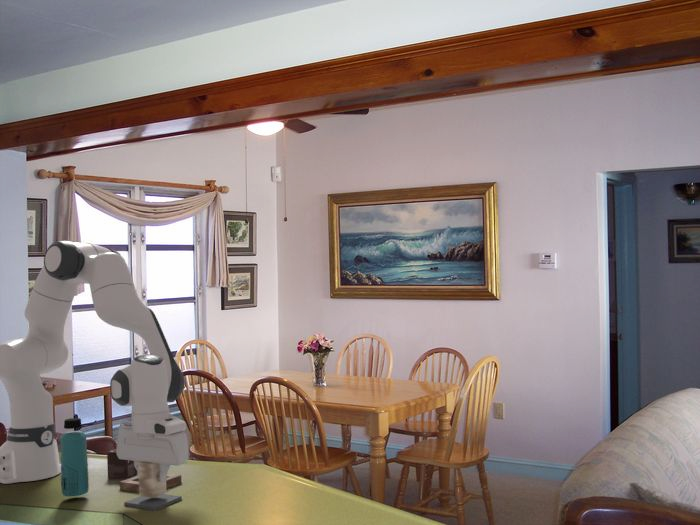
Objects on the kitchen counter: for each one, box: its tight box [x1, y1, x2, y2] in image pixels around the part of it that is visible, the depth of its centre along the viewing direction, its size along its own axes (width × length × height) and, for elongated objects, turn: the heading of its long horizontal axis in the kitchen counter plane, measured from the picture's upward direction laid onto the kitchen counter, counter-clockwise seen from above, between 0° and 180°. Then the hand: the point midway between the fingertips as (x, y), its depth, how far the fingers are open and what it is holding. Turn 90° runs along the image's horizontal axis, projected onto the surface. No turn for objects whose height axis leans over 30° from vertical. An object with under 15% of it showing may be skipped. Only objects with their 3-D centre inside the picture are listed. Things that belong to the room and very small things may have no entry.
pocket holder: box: [119, 473, 182, 493], centre depth 197 cm, size 11×11×2 cm
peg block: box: [138, 462, 167, 498], centre depth 182 cm, size 4×4×8 cm
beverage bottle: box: [59, 417, 90, 498], centre depth 188 cm, size 6×7×20 cm
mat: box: [123, 493, 183, 511], centre depth 182 cm, size 10×9×1 cm
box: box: [106, 447, 138, 480], centre depth 209 cm, size 6×6×7 cm
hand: (152, 480), depth 182 cm, fingers open, 5 cm apart
